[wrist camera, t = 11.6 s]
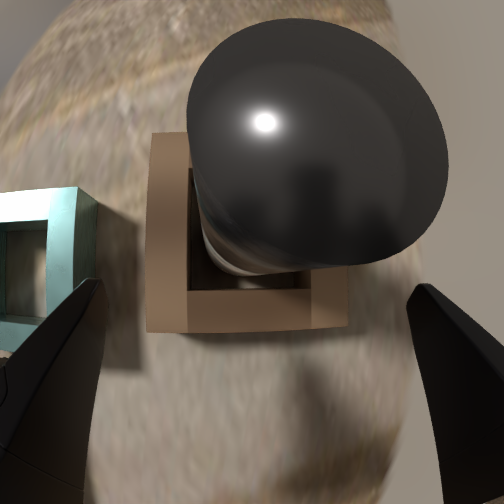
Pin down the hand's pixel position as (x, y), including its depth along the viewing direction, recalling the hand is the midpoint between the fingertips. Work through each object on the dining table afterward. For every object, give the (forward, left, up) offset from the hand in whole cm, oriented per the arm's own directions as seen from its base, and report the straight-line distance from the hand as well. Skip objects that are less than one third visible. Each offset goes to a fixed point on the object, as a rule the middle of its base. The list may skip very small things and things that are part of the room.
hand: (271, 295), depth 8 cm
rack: (+3, 0, -8) cm, 9 cm away
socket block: (+1, +12, -8) cm, 14 cm away
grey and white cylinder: (+3, 0, -8) cm, 9 cm away
